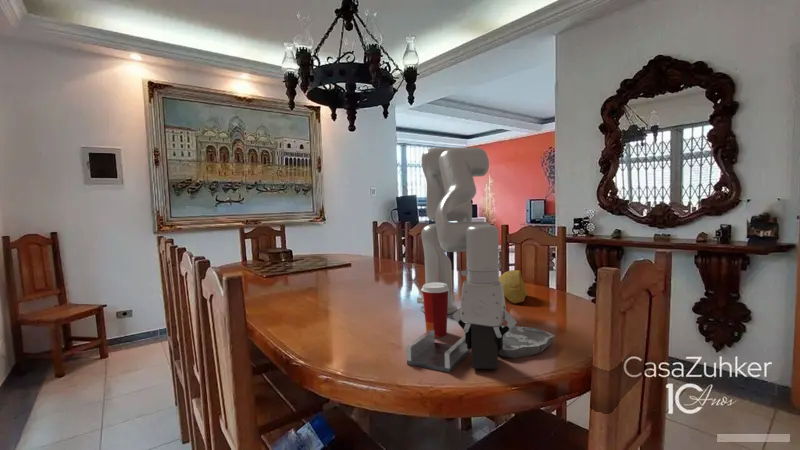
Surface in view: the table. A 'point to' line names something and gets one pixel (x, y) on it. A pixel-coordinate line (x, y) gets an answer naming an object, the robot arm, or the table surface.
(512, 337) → the brain slice
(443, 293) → the coffee cup
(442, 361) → the guide cradle
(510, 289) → the decorative stone
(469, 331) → the robot arm
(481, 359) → the phone stand
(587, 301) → the table surface
